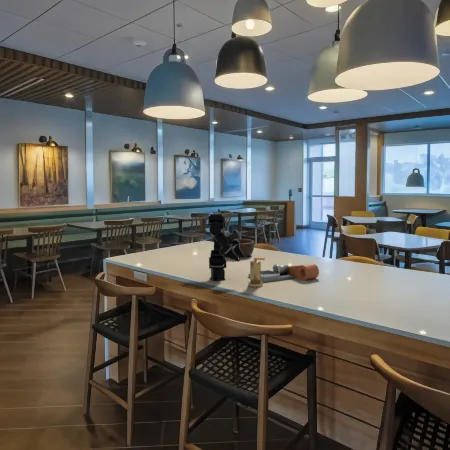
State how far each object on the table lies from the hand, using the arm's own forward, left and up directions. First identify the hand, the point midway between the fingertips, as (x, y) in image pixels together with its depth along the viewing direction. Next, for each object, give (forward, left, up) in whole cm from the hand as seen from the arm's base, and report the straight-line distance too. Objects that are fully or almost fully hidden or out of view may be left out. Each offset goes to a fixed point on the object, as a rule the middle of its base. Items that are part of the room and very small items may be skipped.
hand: (241, 259), depth 191 cm
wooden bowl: (+32, +71, -13) cm, 80 cm away
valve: (+5, -5, -13) cm, 15 cm away
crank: (+36, +1, -13) cm, 38 cm away
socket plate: (+20, +5, -13) cm, 25 cm away
